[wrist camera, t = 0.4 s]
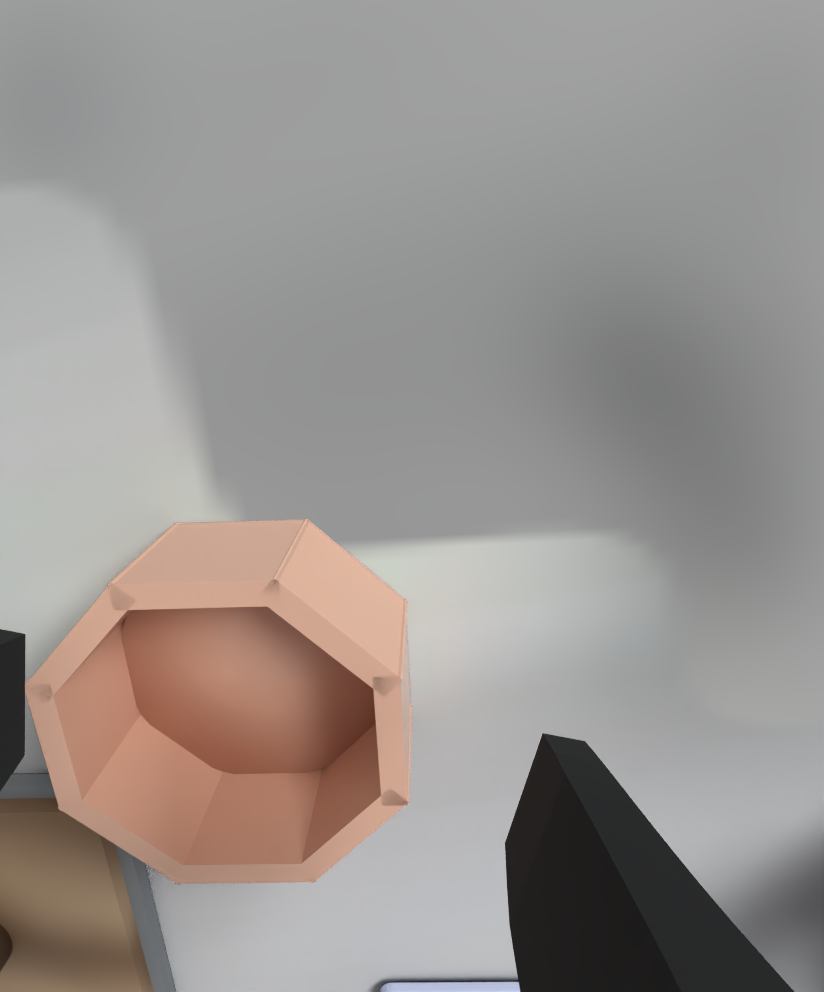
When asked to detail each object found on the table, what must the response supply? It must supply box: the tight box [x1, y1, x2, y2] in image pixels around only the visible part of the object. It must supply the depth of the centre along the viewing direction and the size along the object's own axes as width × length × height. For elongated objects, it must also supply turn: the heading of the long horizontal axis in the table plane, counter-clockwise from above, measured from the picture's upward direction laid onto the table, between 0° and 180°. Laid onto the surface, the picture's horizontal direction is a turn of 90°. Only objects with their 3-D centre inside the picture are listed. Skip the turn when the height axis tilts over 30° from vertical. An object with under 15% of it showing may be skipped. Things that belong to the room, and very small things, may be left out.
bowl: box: [25, 519, 412, 885], centre depth 17 cm, size 10×10×4 cm
